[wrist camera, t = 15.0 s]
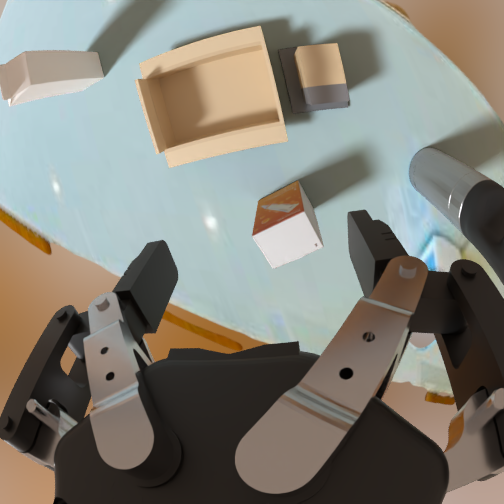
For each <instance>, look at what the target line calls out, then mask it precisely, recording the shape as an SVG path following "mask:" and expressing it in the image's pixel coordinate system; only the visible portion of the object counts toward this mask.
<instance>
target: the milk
mask: <svg viewBox="0 0 504 504" xmlns="http://www.w3.org/2000/svg"><path fill="white" fill-rule="evenodd" d="M103 78H104V74H103V71H102V67H101V63H100V59H99V55H98V52H88V51H65V50H44V51H25V52H23V53H21V54H20V55H18V56H17V57H15V58H14V59H12V60H11V61H9V62H8V63H6V64H3V65H0V88H1V93H2V98H3V100H8V103H9V106H13V105H17V104H21V103H25V102H29V101H33V100H37V99H42V98H46V97H51V96H57V95H62V94H68V93H75V92H81V91H83V90H85V89H86V88H88V87H89V86H91V85H93V84H94V83H96V82H98V81H99V80H101V79H103Z"/></svg>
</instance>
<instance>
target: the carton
mask: <svg viewBox="0 0 504 504" xmlns="http://www.w3.org/2000/svg"><path fill="white" fill-rule="evenodd" d="M139 65H140V69H141V73H142V77H143V79H137V80H135V83H136V87H137V90H138V94H139V98H140V101H141V105H142V108H143V112H144V115H145V119H146V122H147V125H148V129H149V132H150V135H151V138H152V141H153V145H154V148H155V151H156V154H159V153H161V152H163V151H164V152H165V155H166V159H167V162H168V165H169V168H172V167H175V166H179V165H182V164H186V163H190V162H193V161H197V160H201V159H205V158H209V157H213V156H218V155H222V154H226V153H231V152H235V151H240V150H245V149H249V148H254V147H260V146H265V145H270V144H276V143H282V142H288V138H287V133H286V128H285V124H284V119H283V114H282V110H281V105H280V101H279V96H278V92H277V88H276V83H275V79H274V75H273V71H272V67H271V63H270V59H269V55H268V51H267V48H266V44H265V40H264V36H263V33H262V29H261V26H256V27H251V28H246V29H241V30H237V31H233V32H229V33H225V34H221V35H217V36H214V37H210V38H207V39H203V40H200V41H197V42H194V43H191V44H188V45H185V46H182V47H179V48H176V49H174V50H171V51H168V52H166V53H163V54H161V55H158V56H156V57H153V58H151V59H148V60H146V61H144V62H142V63H139Z"/></svg>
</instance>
